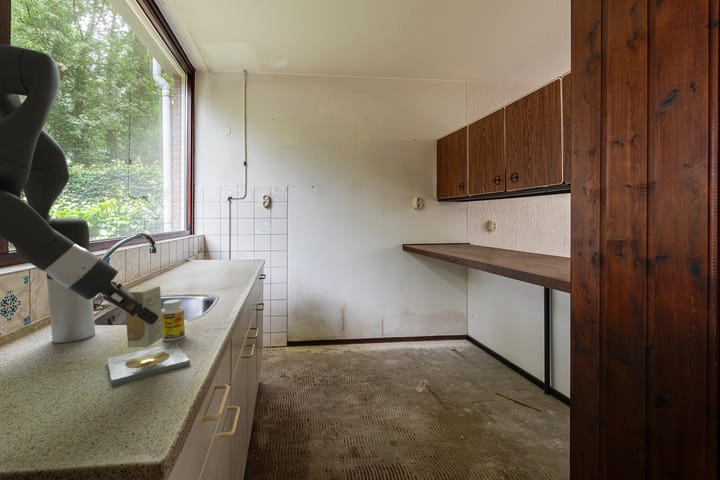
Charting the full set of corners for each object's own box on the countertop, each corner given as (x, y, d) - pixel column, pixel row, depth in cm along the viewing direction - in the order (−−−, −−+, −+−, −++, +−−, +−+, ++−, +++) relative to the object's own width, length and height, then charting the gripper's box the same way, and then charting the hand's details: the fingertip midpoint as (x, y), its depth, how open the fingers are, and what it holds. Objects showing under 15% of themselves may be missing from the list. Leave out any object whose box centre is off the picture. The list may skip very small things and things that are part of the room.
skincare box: (146, 337, 79) (142, 285, 78) (164, 337, 79) (161, 285, 78) (126, 348, 72) (122, 291, 72) (146, 348, 72) (142, 291, 72)
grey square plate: (107, 363, 77) (107, 357, 77) (176, 347, 86) (175, 342, 86) (111, 386, 66) (111, 380, 66) (189, 365, 75) (189, 359, 75)
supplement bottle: (162, 343, 89) (160, 305, 88) (161, 337, 94) (159, 300, 93) (186, 338, 92) (184, 301, 91) (183, 333, 97) (181, 297, 96)
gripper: (99, 260, 64) (171, 309, 72) (96, 255, 75) (159, 298, 83) (64, 292, 61) (144, 339, 69) (66, 281, 72) (135, 324, 80)
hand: (152, 317), depth 76 cm, fingers closed on skincare box, 7 cm apart
